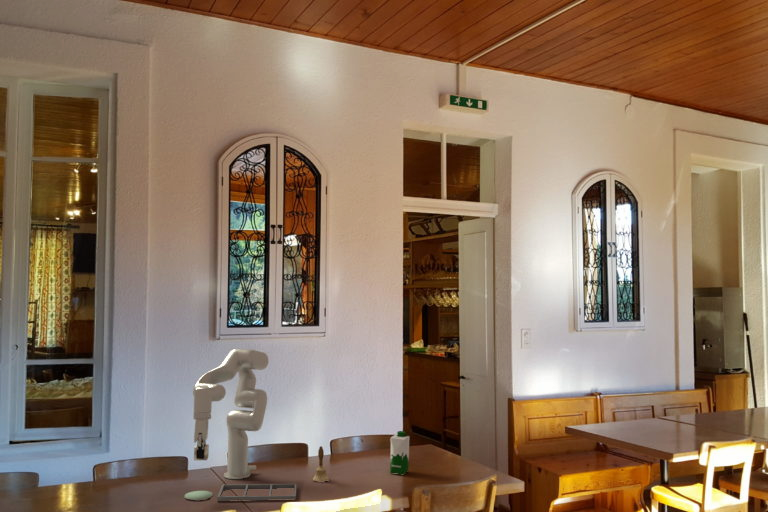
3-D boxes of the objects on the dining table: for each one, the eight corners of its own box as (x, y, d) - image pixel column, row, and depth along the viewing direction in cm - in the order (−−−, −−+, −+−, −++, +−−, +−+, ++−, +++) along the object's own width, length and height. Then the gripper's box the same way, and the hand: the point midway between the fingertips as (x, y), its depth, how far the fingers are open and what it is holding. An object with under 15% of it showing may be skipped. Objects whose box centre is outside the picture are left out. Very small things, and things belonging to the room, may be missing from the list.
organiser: (296, 489, 318) (296, 483, 318) (295, 501, 301) (295, 495, 301) (222, 490, 314) (222, 484, 314) (217, 503, 297) (217, 497, 297)
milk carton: (410, 471, 350) (411, 431, 351) (404, 476, 342) (405, 435, 342) (394, 469, 354) (395, 430, 354) (387, 474, 345) (388, 433, 346)
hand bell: (316, 483, 328) (316, 449, 328) (309, 478, 335) (310, 445, 335) (332, 481, 331) (332, 447, 332) (325, 476, 339) (326, 443, 339)
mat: (204, 490, 313) (205, 489, 313) (217, 497, 304) (217, 495, 304) (179, 495, 305) (179, 494, 305) (192, 503, 296) (192, 501, 296)
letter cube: (208, 457, 308) (208, 444, 308) (206, 460, 303) (207, 447, 303) (195, 457, 308) (196, 444, 308) (193, 460, 302) (194, 447, 302)
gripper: (196, 411, 314) (195, 451, 313) (190, 419, 297) (189, 462, 296) (213, 411, 315) (212, 451, 314) (208, 419, 298) (207, 461, 297)
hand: (201, 456), depth 305 cm, fingers closed on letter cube, 5 cm apart
